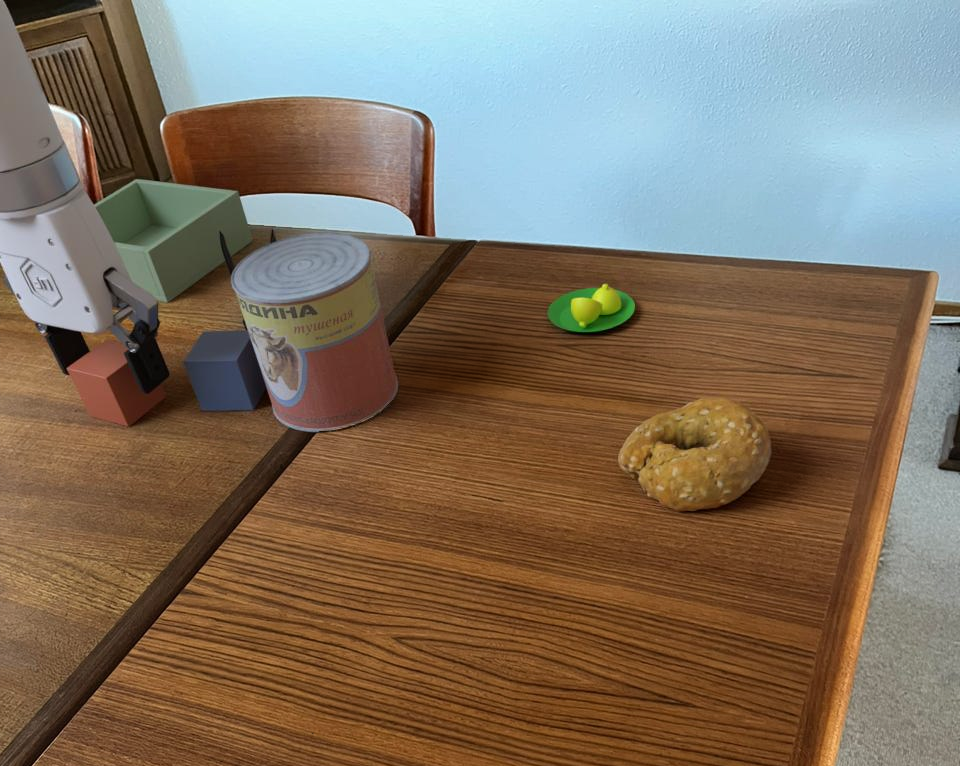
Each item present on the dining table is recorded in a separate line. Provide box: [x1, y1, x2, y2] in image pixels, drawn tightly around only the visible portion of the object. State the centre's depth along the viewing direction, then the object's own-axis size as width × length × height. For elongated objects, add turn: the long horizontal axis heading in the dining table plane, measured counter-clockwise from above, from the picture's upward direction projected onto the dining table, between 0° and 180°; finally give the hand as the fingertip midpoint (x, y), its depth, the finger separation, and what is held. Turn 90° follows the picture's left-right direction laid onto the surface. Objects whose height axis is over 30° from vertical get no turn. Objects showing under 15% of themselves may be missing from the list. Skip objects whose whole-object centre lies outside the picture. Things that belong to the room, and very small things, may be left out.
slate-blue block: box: [182, 329, 267, 412], centre depth 86 cm, size 5×5×5 cm
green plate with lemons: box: [547, 283, 636, 333], centre depth 88 cm, size 8×8×3 cm
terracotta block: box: [67, 339, 167, 428], centre depth 87 cm, size 5×5×5 cm
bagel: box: [617, 396, 772, 512], centre depth 70 cm, size 10×11×5 cm
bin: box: [93, 178, 254, 303], centre depth 107 cm, size 16×15×6 cm
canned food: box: [230, 232, 399, 433], centre depth 81 cm, size 11×11×12 cm
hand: (117, 375), depth 86 cm, fingers open, 9 cm apart
